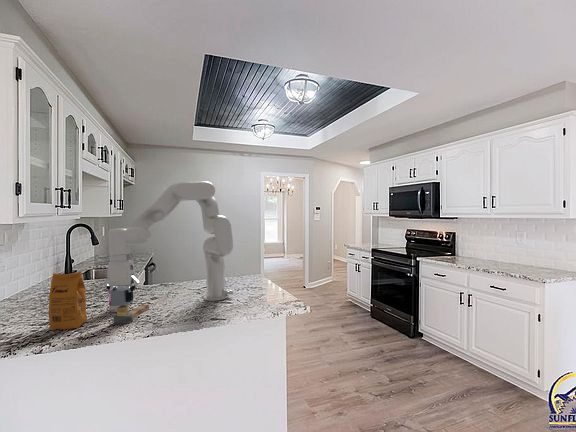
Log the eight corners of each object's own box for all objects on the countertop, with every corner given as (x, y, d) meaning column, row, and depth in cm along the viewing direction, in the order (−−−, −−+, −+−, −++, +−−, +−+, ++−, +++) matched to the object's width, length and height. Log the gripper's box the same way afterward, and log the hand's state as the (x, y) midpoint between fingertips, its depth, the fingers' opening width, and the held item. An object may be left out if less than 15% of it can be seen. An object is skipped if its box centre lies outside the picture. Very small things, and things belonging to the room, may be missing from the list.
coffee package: (60, 322, 133) (57, 271, 132) (91, 320, 134) (88, 269, 133) (44, 332, 123) (40, 276, 122) (77, 329, 124) (74, 274, 123)
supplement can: (109, 313, 142) (107, 281, 142) (110, 309, 149) (108, 277, 149) (129, 310, 146) (127, 278, 145) (129, 306, 153) (127, 275, 153)
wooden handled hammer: (138, 308, 148) (137, 295, 148) (152, 308, 147) (151, 294, 147) (109, 325, 127) (109, 309, 127) (126, 325, 127) (125, 309, 127)
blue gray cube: (133, 301, 133) (132, 287, 133) (124, 305, 127) (124, 291, 127) (120, 301, 134) (119, 287, 133) (110, 305, 128) (110, 291, 127)
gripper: (145, 256, 133) (147, 298, 133) (106, 257, 134) (108, 298, 135) (134, 259, 125) (137, 303, 126) (94, 260, 127) (96, 304, 127)
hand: (122, 300), depth 130 cm, fingers closed on blue gray cube, 6 cm apart
